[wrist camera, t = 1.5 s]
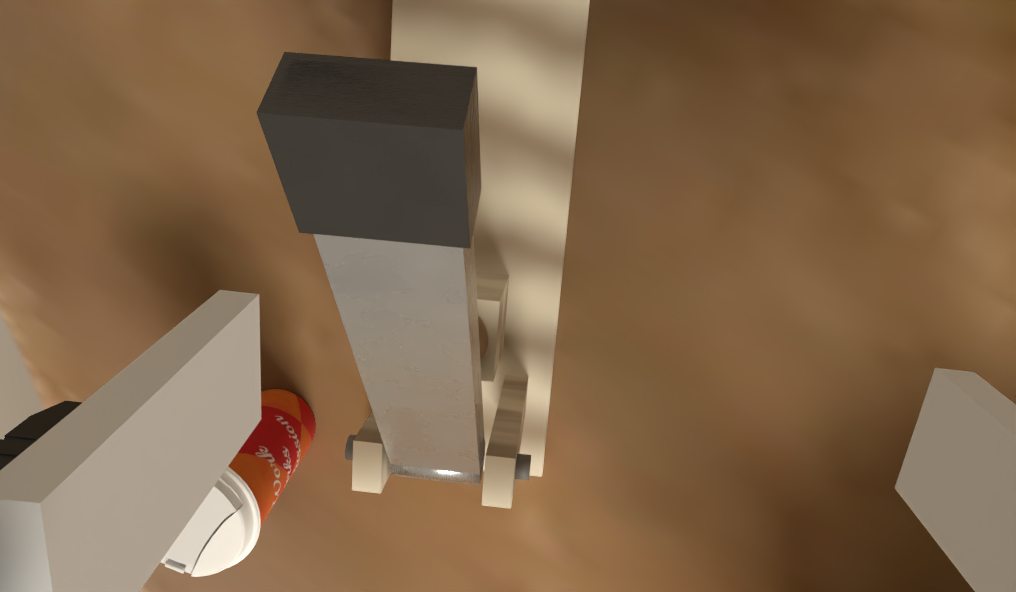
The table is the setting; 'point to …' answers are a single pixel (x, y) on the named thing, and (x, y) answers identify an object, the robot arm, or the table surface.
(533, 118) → the press base
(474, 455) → the lever
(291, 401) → the paper cup
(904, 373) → the table surface
